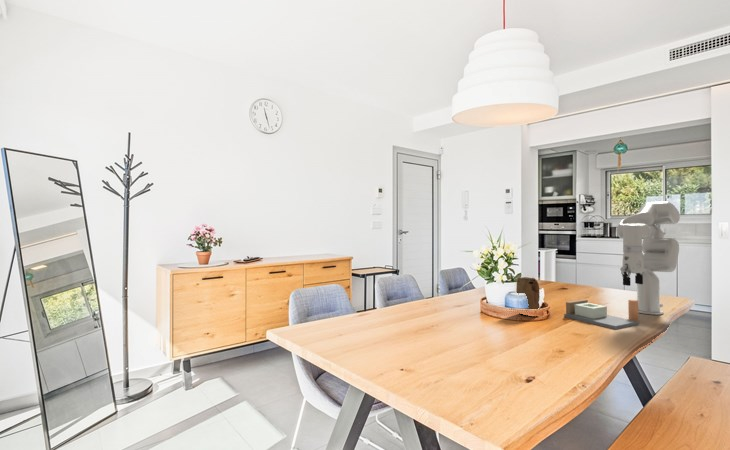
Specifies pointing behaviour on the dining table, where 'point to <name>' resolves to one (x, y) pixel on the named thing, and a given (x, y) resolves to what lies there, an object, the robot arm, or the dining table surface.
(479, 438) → the dining table surface
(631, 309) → the orange rectangular post
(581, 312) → the socket block
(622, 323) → the stop board
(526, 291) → the block
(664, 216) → the robot arm
